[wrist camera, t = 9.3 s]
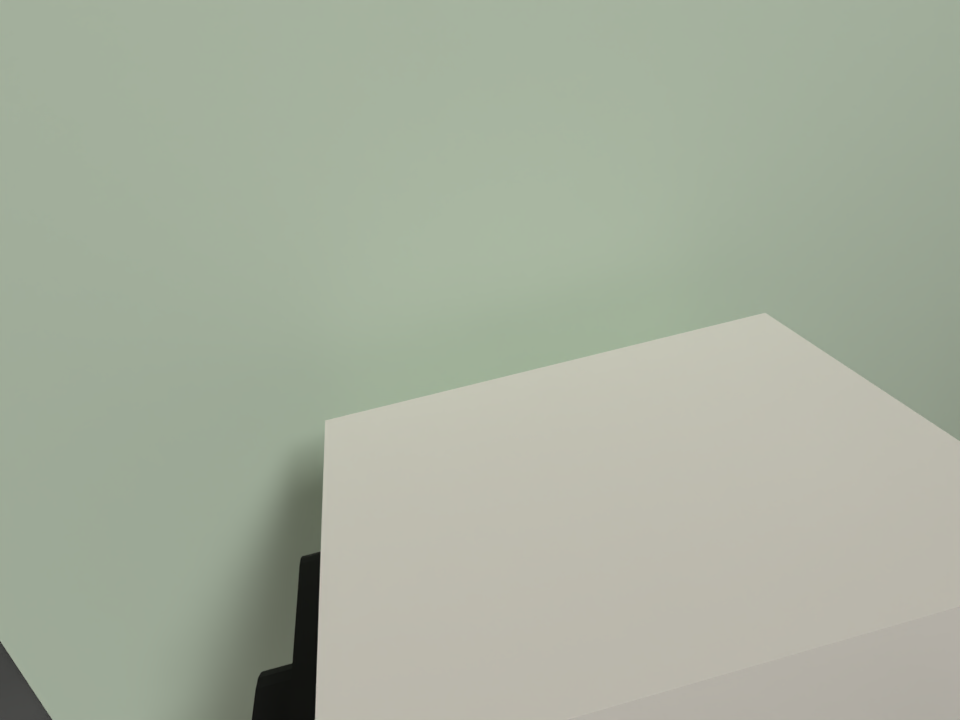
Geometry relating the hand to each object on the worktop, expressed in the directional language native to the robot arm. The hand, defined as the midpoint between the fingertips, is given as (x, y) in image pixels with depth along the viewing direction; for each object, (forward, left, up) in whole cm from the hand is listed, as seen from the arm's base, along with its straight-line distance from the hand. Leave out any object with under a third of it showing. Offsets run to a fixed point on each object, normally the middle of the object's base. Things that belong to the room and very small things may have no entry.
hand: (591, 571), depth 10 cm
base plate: (0, 0, -3) cm, 3 cm away
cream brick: (0, 0, -1) cm, 1 cm away
